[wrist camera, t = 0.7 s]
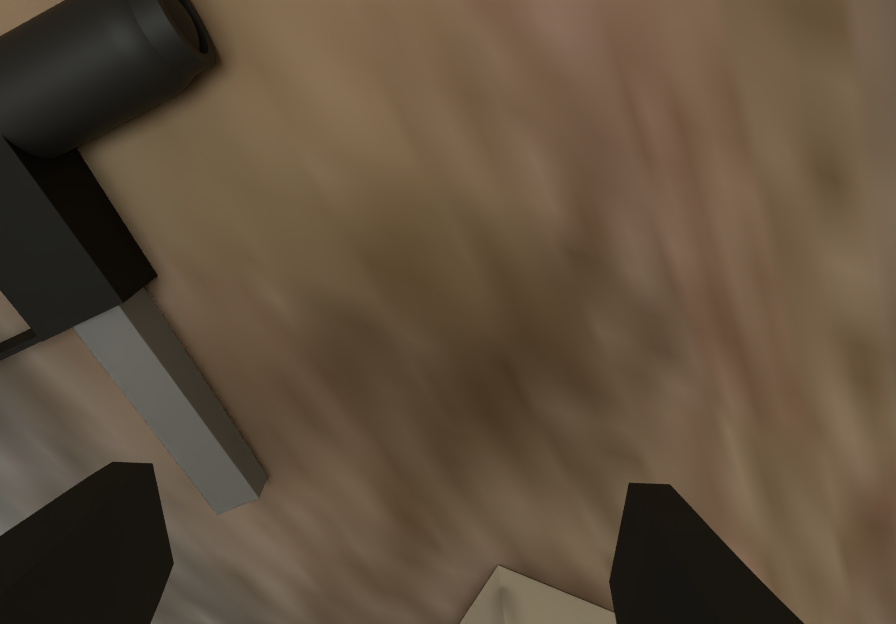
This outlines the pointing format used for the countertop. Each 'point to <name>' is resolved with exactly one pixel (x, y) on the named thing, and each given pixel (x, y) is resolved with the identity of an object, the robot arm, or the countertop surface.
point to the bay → (530, 603)
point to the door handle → (105, 217)
